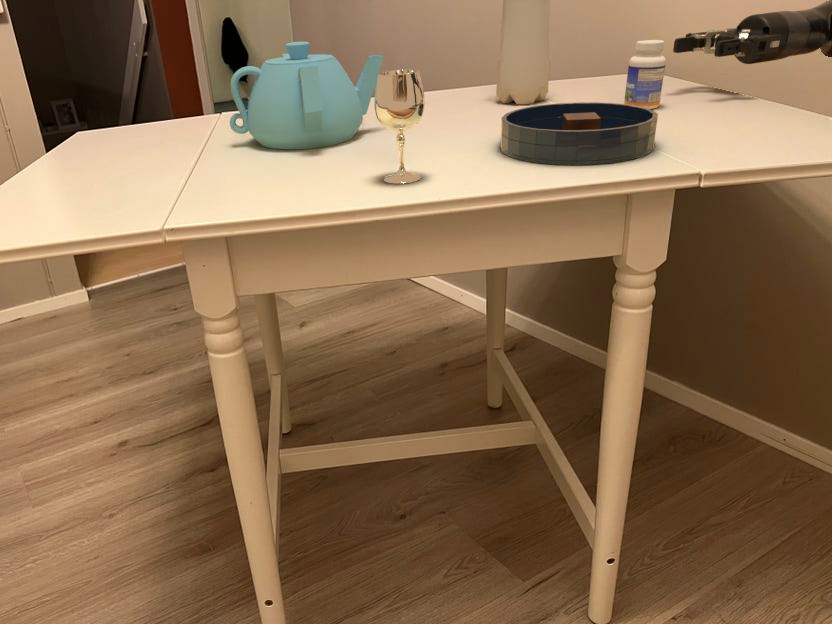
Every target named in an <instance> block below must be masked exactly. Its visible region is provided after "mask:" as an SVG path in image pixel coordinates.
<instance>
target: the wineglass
mask: <svg viewBox="0 0 832 624" xmlns="http://www.w3.org/2000/svg"><path fill="white" fill-rule="evenodd" d="M424 91H425V90H424V86H423V81H422V77H421V73H420V70H418V69H411V68H410V69H407V68H405V69H391V70H384V71H381V72H380V71H379V73H378V76H377V81H376V84H375V88H374V111H375V112H374V113H375V117H376V118H377V121H378V122H379V124H380V125H382V126H383V127H384V128H386V129H389V130H391V131H395V132H397V135H396V145H397V147H398V153H399V155H398V156H399V167H398V170H397V171H396V172H395V173H391V174H388V175H386V176H384V178H383V181H384V182H386V183H388V184H394V185H396V184H397V185H400V184H401V185H402V184H410V183H415V182H418V181H420V180H421V178H422V177H421V175H420V174H418V173H414V172H409V171H407V170H406V168H405V163H404V148H405V143H406V137H405V135H404V131H407V130H410V129H413V128H414V127H416V126H417V125H418V124H419V123H420V121H422V118H423V117H424V114H425V107H426V101H425V92H424Z"/></svg>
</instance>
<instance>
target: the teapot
mask: <svg viewBox="0 0 832 624" xmlns="http://www.w3.org/2000/svg"><path fill="white" fill-rule="evenodd" d="M310 47H311V42H309V41H293V42H288V43H285V49H286V51H287V53H281V57H276V58H275V57H274V58H270V59H267V60H265V61H264V62H263V63H262V65H261V67H260V68H259V67H256V66H253V65H247V66H243V67H240V68H239V69H237V70H236V71H235V72H234V73H233V74H232V76H231V79H230V91H231V95H232V98H233V100H234V102H235V105H236V108H237V111H238V113H237V112H236V113H233V115H231V116H230V119H229V127H230V129H231V131H233V132H234V133H236V134H239V135H244V134H246V133H249V134H250V135H251V136H252V137H253V138H254V139H255V141H256V142H258V143H259V145H261V146H262V147H265V148H269V149H274V150H306V149H307V150H308V149H315V148H316V149H317V148H322V147H330V146H334V145H339V144H342V143H345V142H347V141H349V140H351V139H352V138H353V137H354V136H355V134H356V133H357V132H358V130H359V128H360V127H361V125H362V123H363V120H364V115H367V113H368V110H369V106H370V103H371V100H372V96H373V93H374V92H375V88H376V81H377V76H378V73H380V71H381V67H382V63H383V61H384V55H382V54H381V55H379V54H378V55H368V59H367V61H366V63H365V65H364V67H363V69H362V71H361V74H360V76H359V77H358V80H357V82H356V85H354V83H353V81H352V80H351V78H350V76H349V75H348V73H347V72H346V70H345V69H344V67H343V66H342V64H341V63H340V62H339V60H338V59H337V58H336V57H335V56H334V55H333V54H323V53H321V54H319V53H318V54H309V52H310ZM246 75H254V76H256V78H255V80H254V83H253V85H252V88H251V90H250V93H249V98H248V101H247V109H246V105H245V104H244V101H243V99H242V96H241V93H240V89H239V81H240V79H241V78H242V77H244V76H246ZM238 119H241V120H242V125H241V126H240V125H238V124H237V120H238Z"/></svg>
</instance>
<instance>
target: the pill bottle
mask: <svg viewBox="0 0 832 624" xmlns="http://www.w3.org/2000/svg"><path fill="white" fill-rule="evenodd" d="M664 44H665V41H664V40H661V39H645V40H637V41H636V43H635V51H634V52H636V54H635V55H633V56H631V57H630V59H629V61H628V66H627V67H628V68H627V75H626V84H625V93H624V101H623V102H624V103H623V104H627V105H634V106H639V107H644V108H647V109H650V110H654V109H657V108H659V106H660V104H661V96H662V89H663V84H664V83H663V82H664V77H665V69H666V64H667V63H666V62H667V59H666V57H665V56H664V55H662V52H663V51H664V46H665V45H664Z"/></svg>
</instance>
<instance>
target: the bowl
mask: <svg viewBox="0 0 832 624" xmlns="http://www.w3.org/2000/svg"><path fill="white" fill-rule="evenodd" d="M592 112H595V113H596V114H597V115H598V116H599V117H600V118H601V121H600V129H598V130H562V122H563V114H570V113H592ZM658 117H659V114H658V113H657V112H656V111H655V110H654V109H647V108H644V107H639V106H634V105H627V104H624V103H615V102H594V101H593V102H578V101H577V102H560V103H548V104H539V105H534V106H525V107H522V108H518V109H514V110H512V111H508V112H506V113H505V114H503V116H501V118H500V119H501V120H500V121H501V122H500V123H501V124H500V150H501V152H502V153H503V154H504V155H506V156H508V157H509V158H512V159H516V160H519V161H522V162H529V163H535V164H544V165H556V166H591V165H593V166H594V165H605V164H615V163H621V162H626V161H631V160H636V159H639V158H642V157H645V156H646V155H648V154H650V153H651V152H653V150H654V147H655V139H656V133H657V124H658Z"/></svg>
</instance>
